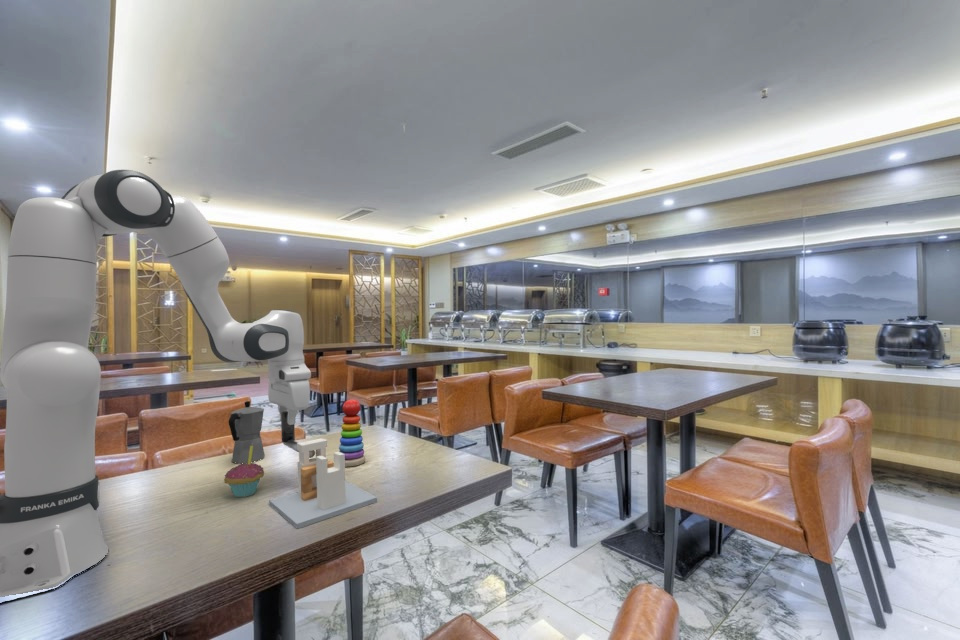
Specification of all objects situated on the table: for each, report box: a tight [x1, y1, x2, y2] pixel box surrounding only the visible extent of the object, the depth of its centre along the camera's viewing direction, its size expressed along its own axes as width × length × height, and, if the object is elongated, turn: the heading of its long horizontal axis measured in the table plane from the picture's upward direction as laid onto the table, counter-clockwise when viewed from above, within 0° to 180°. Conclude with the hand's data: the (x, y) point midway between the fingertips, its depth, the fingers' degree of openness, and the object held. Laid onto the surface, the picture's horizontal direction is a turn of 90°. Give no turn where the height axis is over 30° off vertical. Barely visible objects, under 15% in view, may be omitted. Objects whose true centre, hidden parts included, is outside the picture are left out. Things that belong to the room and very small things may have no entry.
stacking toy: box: [338, 398, 366, 468], centre depth 127 cm, size 8×8×19 cm
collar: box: [301, 460, 334, 501], centre depth 100 cm, size 7×2×7 cm, turn 133°
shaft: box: [280, 411, 316, 459], centre depth 109 cm, size 3×17×9 cm, turn 43°
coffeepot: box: [228, 400, 265, 463], centre depth 132 cm, size 15×9×18 cm, turn 178°
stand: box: [268, 438, 378, 529], centre depth 98 cm, size 18×17×13 cm
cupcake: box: [223, 443, 265, 498], centre depth 105 cm, size 9×8×12 cm
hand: (287, 422), depth 114 cm, fingers closed on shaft, 3 cm apart
